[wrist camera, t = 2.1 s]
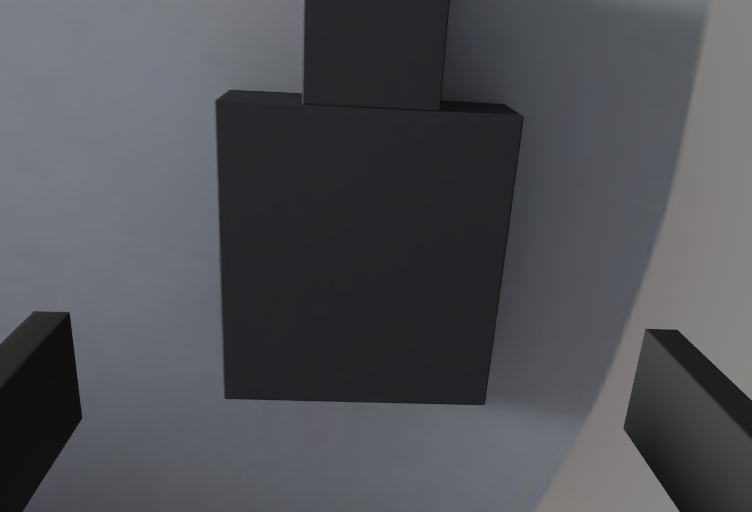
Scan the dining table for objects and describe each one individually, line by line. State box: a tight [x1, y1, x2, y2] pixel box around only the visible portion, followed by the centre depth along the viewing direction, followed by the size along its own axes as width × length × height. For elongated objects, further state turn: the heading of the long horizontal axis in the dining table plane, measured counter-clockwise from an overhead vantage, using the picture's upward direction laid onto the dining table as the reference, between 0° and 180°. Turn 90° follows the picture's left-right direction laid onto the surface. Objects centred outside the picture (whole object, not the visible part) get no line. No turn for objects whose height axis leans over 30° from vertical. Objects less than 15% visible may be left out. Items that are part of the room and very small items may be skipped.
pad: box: [215, 0, 524, 405], centre depth 21 cm, size 9×14×2 cm, turn 177°
